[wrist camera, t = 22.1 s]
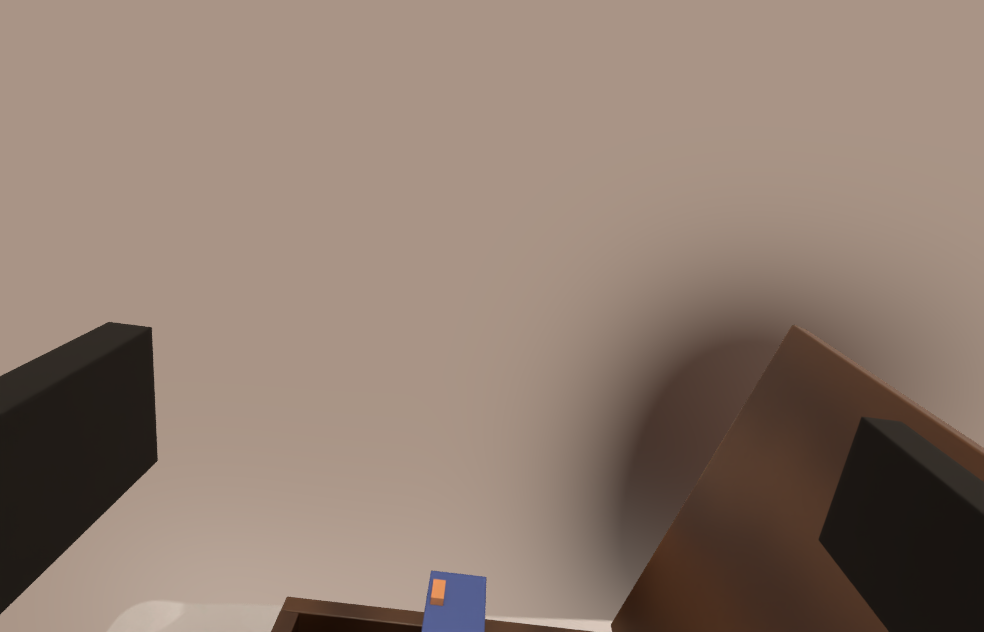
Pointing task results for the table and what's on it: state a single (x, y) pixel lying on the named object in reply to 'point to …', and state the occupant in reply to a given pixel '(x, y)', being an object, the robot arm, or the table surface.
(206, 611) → the table surface
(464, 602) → the walkman
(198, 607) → the table surface
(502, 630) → the chest
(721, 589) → the chest lid
